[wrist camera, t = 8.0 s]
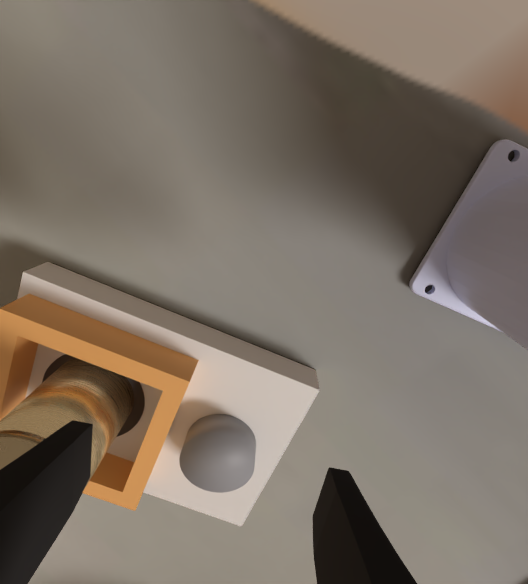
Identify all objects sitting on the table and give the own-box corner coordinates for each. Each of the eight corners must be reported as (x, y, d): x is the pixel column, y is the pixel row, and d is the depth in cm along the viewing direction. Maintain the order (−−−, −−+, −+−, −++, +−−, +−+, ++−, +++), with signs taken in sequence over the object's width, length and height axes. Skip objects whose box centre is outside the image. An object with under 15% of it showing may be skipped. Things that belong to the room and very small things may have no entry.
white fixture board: (315, 370, 21) (324, 414, 17) (244, 498, 24) (238, 559, 20) (48, 261, 19) (-9, 284, 15) (12, 415, 23) (-42, 465, 19)
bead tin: (135, 363, 19) (73, 448, 13) (133, 433, 20) (76, 536, 14) (49, 351, 19) (-51, 431, 13) (54, 421, 20) (-35, 521, 14)
